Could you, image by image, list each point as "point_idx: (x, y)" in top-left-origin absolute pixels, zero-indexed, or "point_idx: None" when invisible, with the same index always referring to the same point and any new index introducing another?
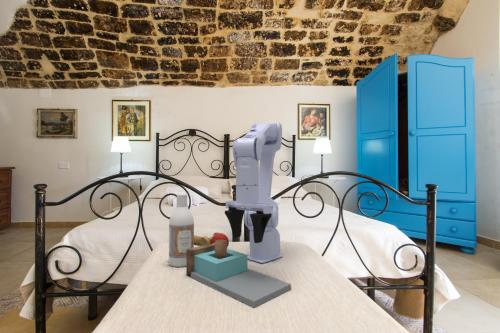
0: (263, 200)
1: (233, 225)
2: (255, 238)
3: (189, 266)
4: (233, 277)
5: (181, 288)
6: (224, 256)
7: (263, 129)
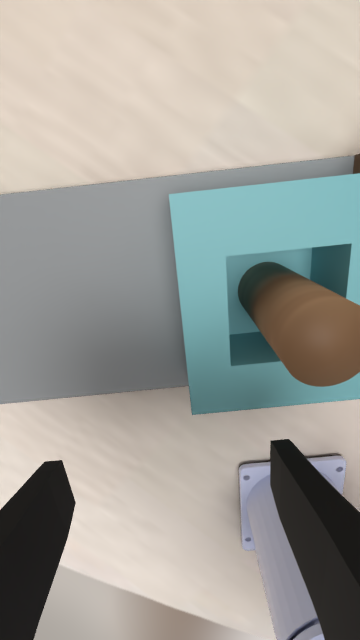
0: None
1: (322, 532)
2: (24, 486)
3: None
4: (162, 286)
5: (261, 45)
6: (253, 311)
7: None
